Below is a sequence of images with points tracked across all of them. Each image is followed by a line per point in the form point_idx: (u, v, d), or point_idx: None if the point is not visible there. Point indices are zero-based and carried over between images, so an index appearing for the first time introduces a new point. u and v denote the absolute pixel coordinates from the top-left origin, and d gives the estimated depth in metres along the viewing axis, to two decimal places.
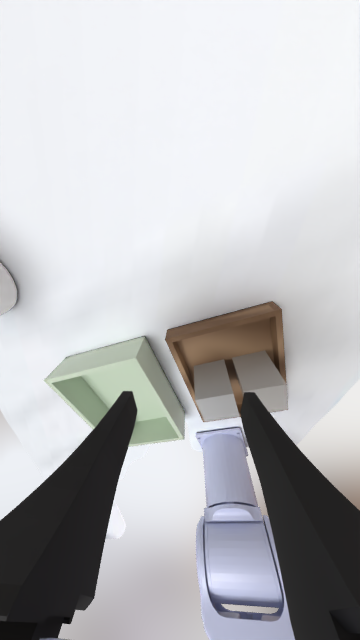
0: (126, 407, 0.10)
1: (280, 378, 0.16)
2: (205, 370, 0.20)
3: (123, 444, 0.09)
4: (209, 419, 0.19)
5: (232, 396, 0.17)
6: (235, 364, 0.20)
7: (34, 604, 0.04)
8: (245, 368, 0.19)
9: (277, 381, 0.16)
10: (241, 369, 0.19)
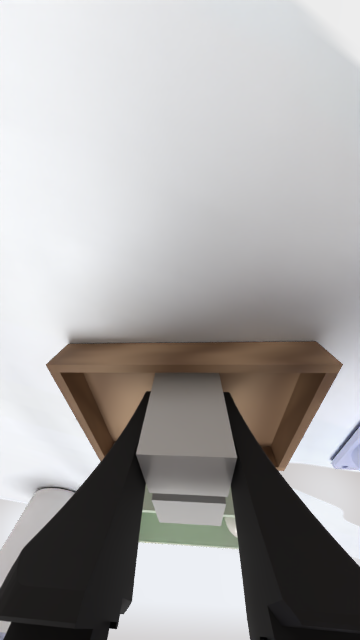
0: None
1: None
2: None
3: None
4: (214, 522, 0.10)
5: (159, 501, 0.09)
6: None
7: (93, 610, 0.04)
8: None
9: None
10: None
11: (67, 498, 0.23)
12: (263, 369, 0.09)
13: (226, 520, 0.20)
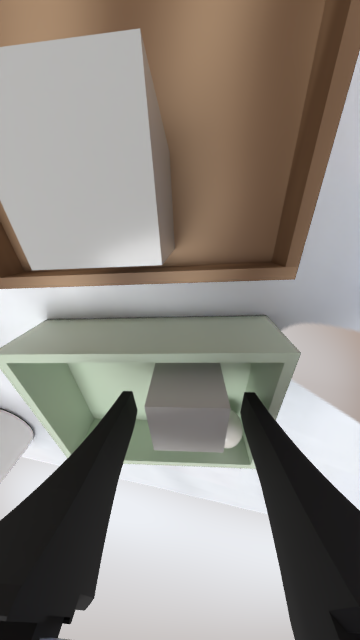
0: (125, 407, 0.10)
1: None
2: None
3: (123, 444, 0.09)
4: (144, 241, 0.04)
5: None
6: None
7: (34, 604, 0.04)
8: None
9: None
10: None
11: None
12: None
13: None
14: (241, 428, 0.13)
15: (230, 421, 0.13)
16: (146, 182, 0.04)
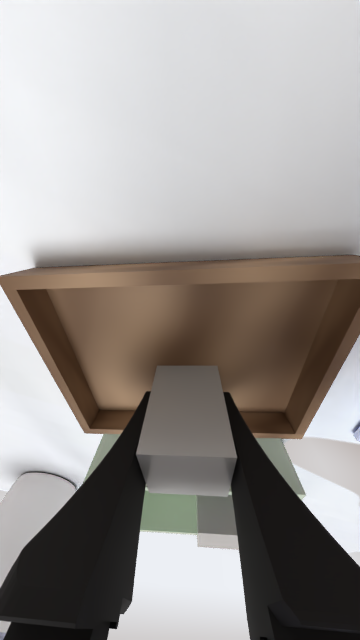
0: None
1: (197, 517, 0.12)
2: None
3: None
4: (219, 491, 0.08)
5: (146, 456, 0.07)
6: None
7: (93, 610, 0.04)
8: None
9: (197, 525, 0.12)
10: None
11: (53, 483, 0.21)
12: (287, 275, 0.06)
13: None
14: None
15: None
16: (227, 480, 0.07)
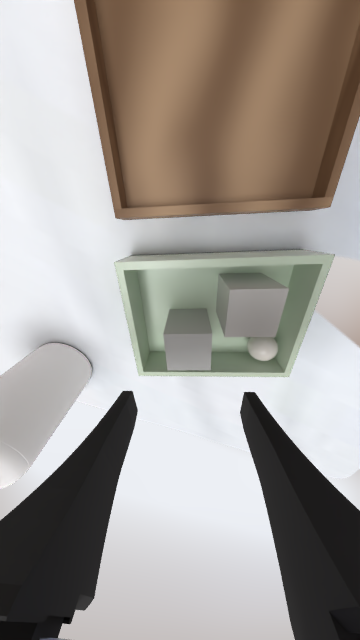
0: (126, 407, 0.10)
1: (227, 289, 0.12)
2: None
3: (123, 445, 0.09)
4: (205, 364, 0.15)
5: (168, 335, 0.14)
6: (217, 315, 0.17)
7: (34, 604, 0.04)
8: (219, 311, 0.15)
9: (227, 295, 0.12)
10: (219, 315, 0.16)
11: (71, 351, 0.21)
12: None
13: (250, 345, 0.17)
14: (277, 344, 0.17)
15: (269, 338, 0.17)
16: (209, 354, 0.14)
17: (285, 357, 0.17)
